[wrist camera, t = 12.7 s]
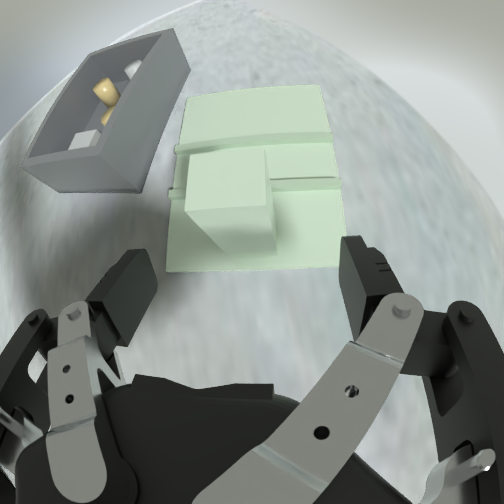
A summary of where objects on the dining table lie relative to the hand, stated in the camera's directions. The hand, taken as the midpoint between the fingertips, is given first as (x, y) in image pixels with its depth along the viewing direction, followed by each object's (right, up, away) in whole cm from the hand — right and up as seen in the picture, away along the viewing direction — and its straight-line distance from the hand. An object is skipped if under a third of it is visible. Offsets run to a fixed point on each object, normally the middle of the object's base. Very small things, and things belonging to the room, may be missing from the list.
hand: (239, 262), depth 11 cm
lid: (+1, +7, +9) cm, 11 cm away
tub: (-12, +13, +12) cm, 22 cm away
